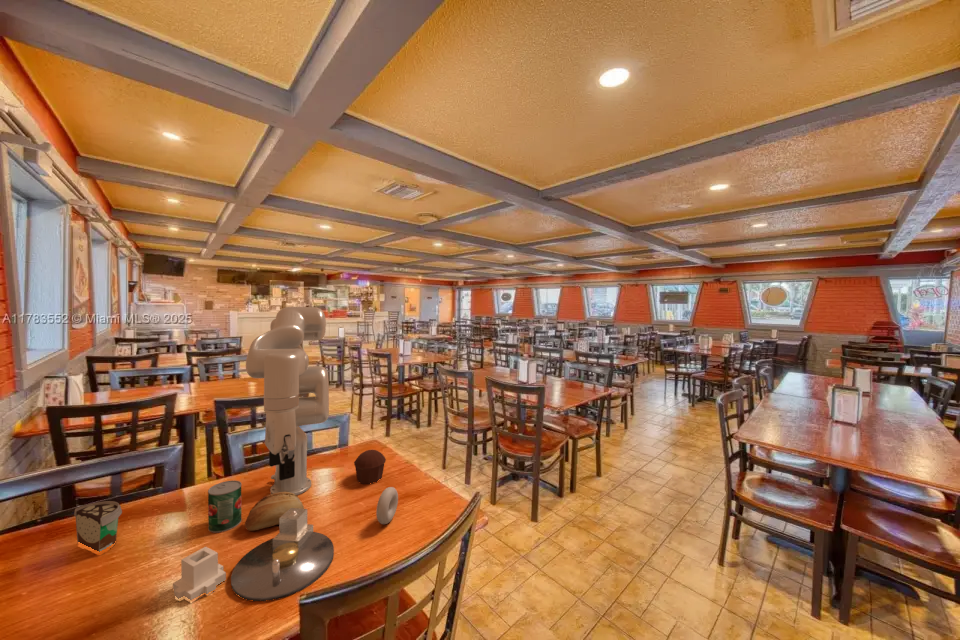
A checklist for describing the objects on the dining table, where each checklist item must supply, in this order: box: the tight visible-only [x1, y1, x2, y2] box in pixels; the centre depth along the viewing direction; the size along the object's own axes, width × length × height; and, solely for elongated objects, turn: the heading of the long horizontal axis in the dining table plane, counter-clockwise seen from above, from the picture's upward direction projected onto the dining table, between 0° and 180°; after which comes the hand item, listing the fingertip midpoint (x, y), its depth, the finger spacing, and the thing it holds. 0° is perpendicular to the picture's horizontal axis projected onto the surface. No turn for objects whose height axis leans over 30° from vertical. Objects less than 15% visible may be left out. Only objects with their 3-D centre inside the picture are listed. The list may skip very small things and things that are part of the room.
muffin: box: [353, 449, 387, 485], centre depth 131 cm, size 12×11×10 cm
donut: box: [375, 486, 399, 525], centre depth 105 cm, size 10×4×10 cm, turn 168°
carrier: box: [230, 508, 335, 602], centre depth 87 cm, size 22×22×9 cm
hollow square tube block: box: [172, 546, 227, 600], centre depth 80 cm, size 9×9×7 cm
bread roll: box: [244, 492, 305, 532], centre depth 103 cm, size 10×15×8 cm, turn 127°
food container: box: [73, 500, 123, 552], centre depth 93 cm, size 12×6×10 cm, turn 71°
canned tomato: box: [207, 480, 243, 534], centre depth 102 cm, size 8×8×11 cm
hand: (281, 471), depth 87 cm, fingers open, 9 cm apart
